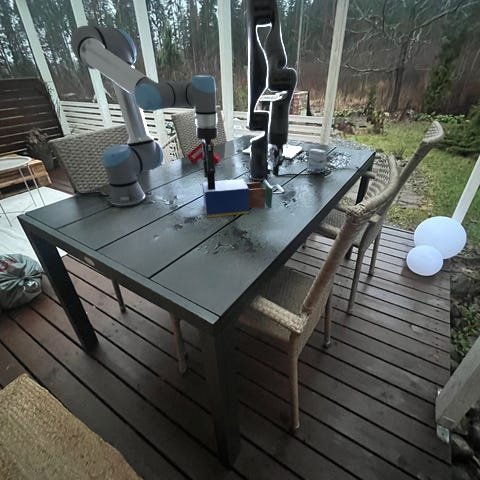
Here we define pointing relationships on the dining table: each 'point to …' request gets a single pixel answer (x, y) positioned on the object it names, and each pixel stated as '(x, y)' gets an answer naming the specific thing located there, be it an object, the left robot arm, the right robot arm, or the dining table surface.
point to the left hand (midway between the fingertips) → (209, 183)
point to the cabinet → (226, 198)
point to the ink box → (316, 160)
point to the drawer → (261, 194)
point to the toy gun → (200, 155)
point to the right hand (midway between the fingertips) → (275, 174)
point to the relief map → (287, 150)
